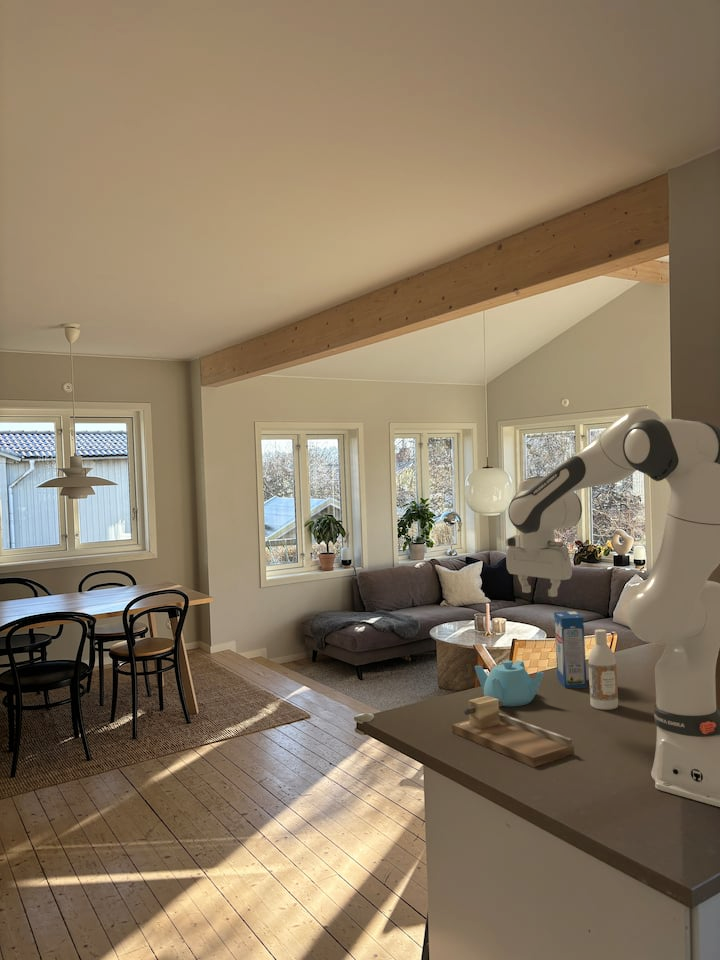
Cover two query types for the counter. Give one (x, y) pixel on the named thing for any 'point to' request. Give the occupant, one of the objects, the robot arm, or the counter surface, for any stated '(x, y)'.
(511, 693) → the teapot
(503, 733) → the walnut board
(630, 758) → the counter surface
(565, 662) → the milk carton
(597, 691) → the bath foam
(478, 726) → the wooden block with pegs
